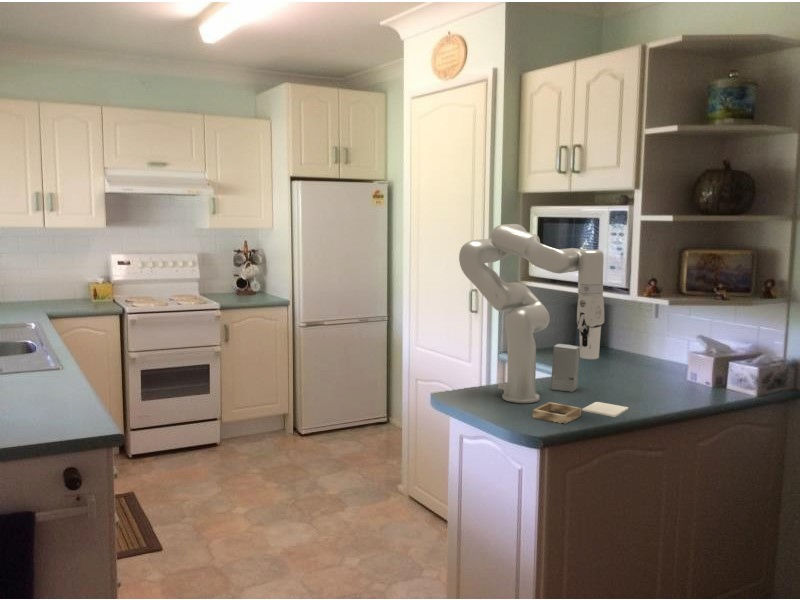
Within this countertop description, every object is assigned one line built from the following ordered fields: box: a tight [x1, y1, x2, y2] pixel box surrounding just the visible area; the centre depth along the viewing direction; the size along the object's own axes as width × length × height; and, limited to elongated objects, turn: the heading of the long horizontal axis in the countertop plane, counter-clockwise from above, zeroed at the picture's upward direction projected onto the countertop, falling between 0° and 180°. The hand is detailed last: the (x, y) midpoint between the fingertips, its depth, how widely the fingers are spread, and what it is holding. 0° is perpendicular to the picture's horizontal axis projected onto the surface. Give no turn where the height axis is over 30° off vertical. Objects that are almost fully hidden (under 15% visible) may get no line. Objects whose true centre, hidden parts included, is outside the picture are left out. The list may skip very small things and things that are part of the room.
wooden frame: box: [532, 401, 582, 425], centre depth 224 cm, size 11×11×2 cm
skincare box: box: [550, 343, 580, 393], centre depth 256 cm, size 8×7×16 cm
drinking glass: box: [578, 325, 602, 360], centre depth 225 cm, size 7×7×10 cm
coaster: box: [581, 401, 629, 418], centre depth 231 cm, size 11×11×1 cm
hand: (589, 346), depth 225 cm, fingers closed on drinking glass, 3 cm apart
